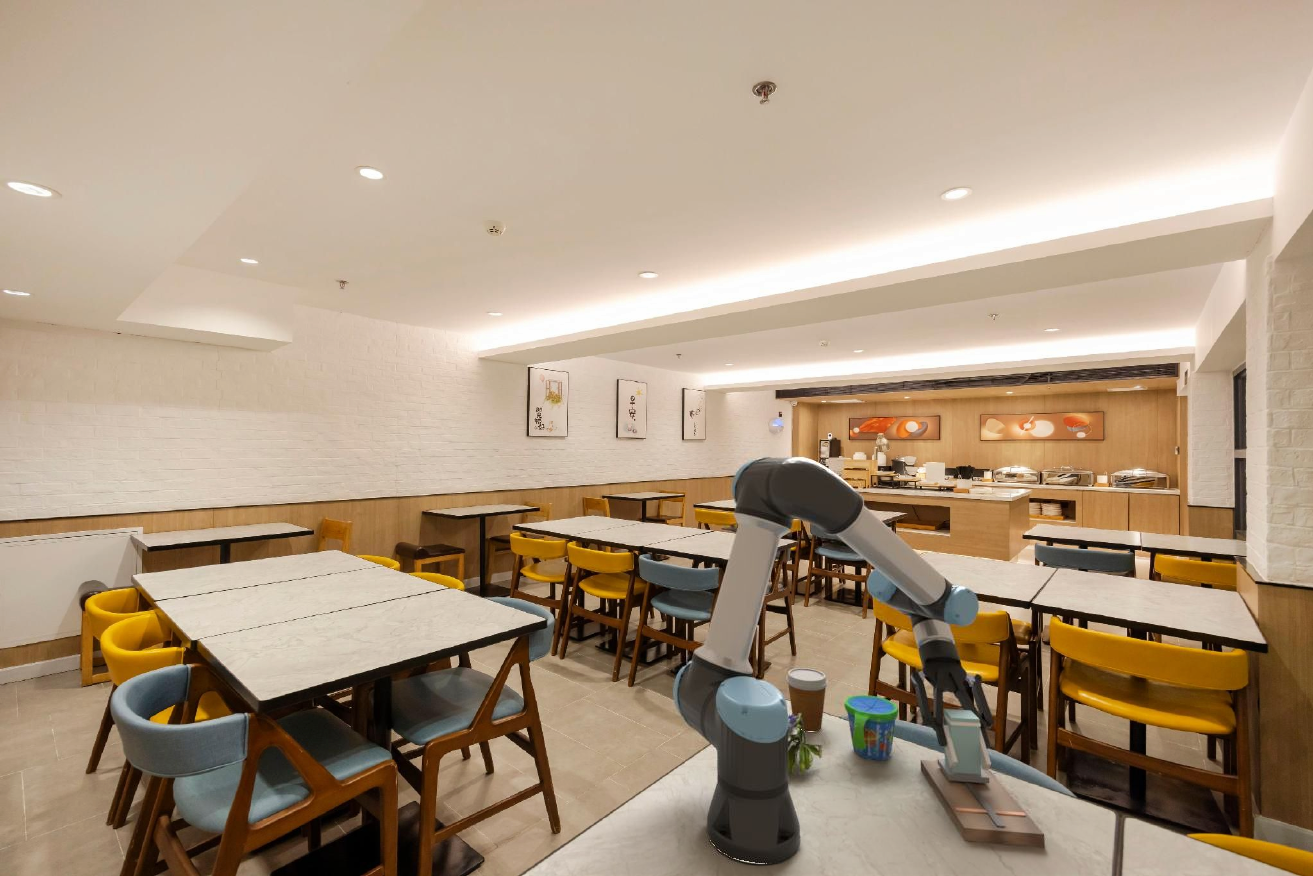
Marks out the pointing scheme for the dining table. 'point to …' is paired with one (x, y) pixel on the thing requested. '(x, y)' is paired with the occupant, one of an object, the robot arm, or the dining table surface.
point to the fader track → (983, 809)
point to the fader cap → (964, 747)
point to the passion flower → (799, 746)
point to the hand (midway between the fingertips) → (970, 765)
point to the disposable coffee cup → (807, 696)
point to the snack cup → (871, 725)
